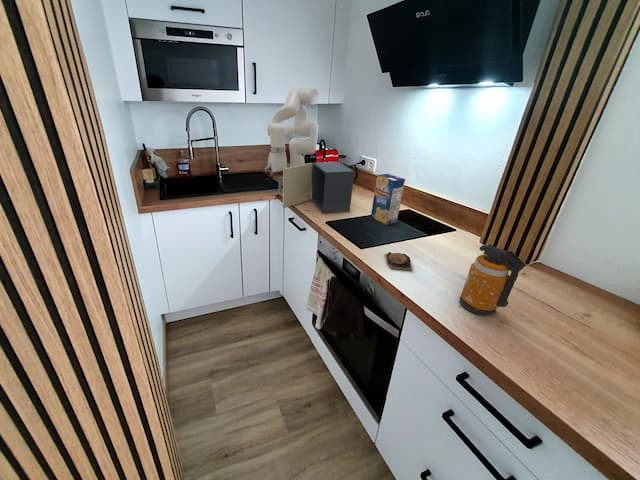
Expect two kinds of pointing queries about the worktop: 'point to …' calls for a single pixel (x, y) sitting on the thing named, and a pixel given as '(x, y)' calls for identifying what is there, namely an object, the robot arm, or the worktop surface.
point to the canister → (490, 280)
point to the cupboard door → (296, 184)
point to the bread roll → (398, 261)
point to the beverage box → (387, 198)
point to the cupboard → (332, 187)
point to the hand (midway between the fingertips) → (277, 181)
